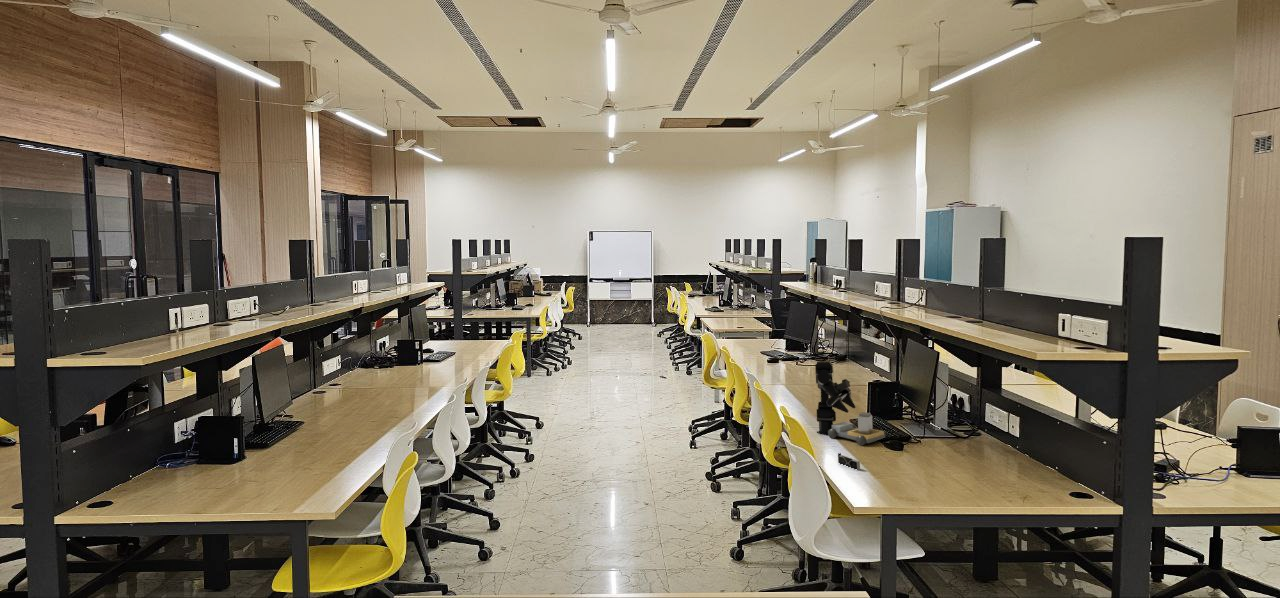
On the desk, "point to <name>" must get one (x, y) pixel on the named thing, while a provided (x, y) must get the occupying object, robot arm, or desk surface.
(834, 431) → the truck
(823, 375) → the robot arm
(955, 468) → the desk surface
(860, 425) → the grey block
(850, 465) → the graphics card
